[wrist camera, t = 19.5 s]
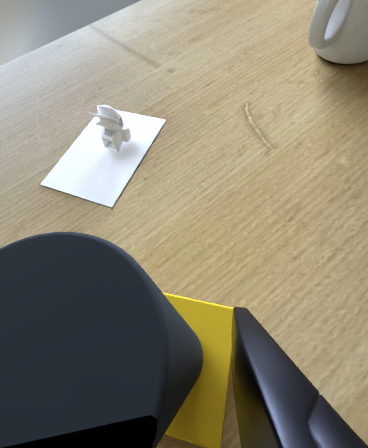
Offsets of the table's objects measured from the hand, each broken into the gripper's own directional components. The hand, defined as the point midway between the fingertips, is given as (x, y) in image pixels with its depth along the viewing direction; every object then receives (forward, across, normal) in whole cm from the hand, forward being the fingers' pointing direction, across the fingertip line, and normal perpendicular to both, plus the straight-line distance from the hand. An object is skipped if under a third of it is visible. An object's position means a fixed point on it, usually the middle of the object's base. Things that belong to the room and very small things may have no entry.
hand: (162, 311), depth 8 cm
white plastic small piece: (+14, +8, -5) cm, 17 cm away
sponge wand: (+4, 0, +6) cm, 7 cm away
